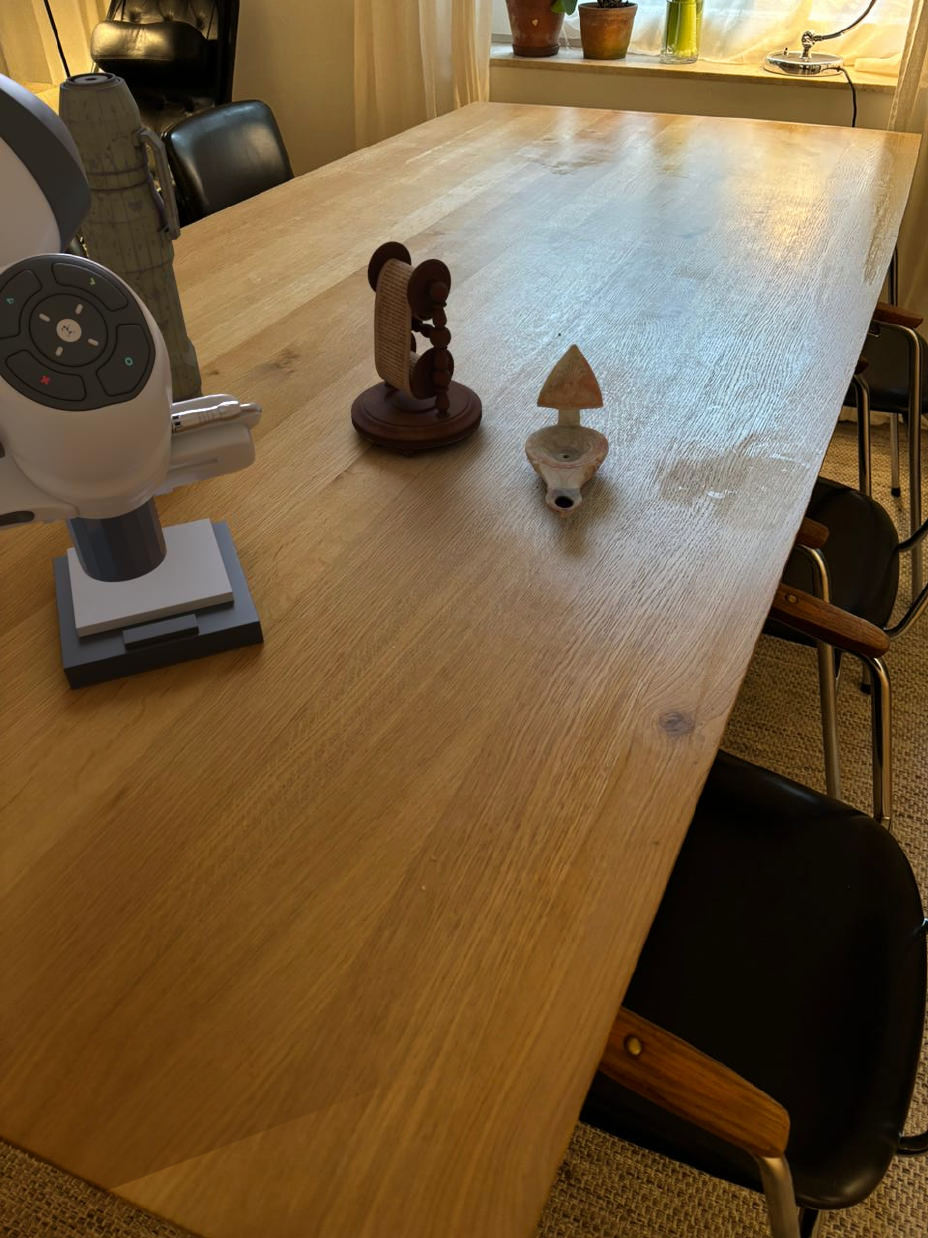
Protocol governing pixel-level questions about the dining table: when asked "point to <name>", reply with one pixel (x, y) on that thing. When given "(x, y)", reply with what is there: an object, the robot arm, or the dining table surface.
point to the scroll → (412, 359)
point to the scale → (156, 608)
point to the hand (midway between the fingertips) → (105, 497)
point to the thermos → (130, 209)
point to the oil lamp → (567, 433)
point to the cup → (119, 544)
